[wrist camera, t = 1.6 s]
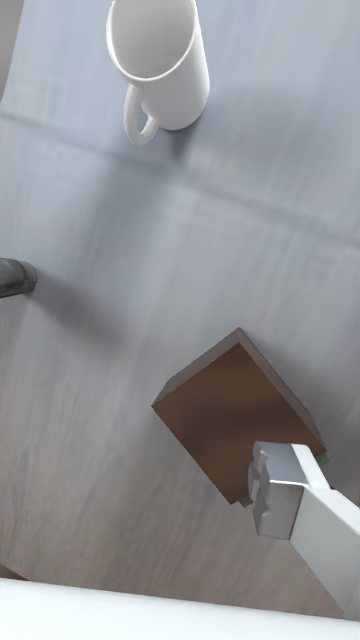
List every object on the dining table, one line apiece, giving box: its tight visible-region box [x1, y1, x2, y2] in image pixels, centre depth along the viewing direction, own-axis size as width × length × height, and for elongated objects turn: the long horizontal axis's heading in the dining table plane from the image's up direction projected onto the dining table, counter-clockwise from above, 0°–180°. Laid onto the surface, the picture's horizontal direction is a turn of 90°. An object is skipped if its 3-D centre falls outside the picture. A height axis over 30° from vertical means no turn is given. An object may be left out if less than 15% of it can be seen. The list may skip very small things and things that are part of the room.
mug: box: [106, 0, 209, 146], centre depth 31 cm, size 12×8×10 cm
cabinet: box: [151, 327, 327, 504], centre depth 36 cm, size 15×13×8 cm
